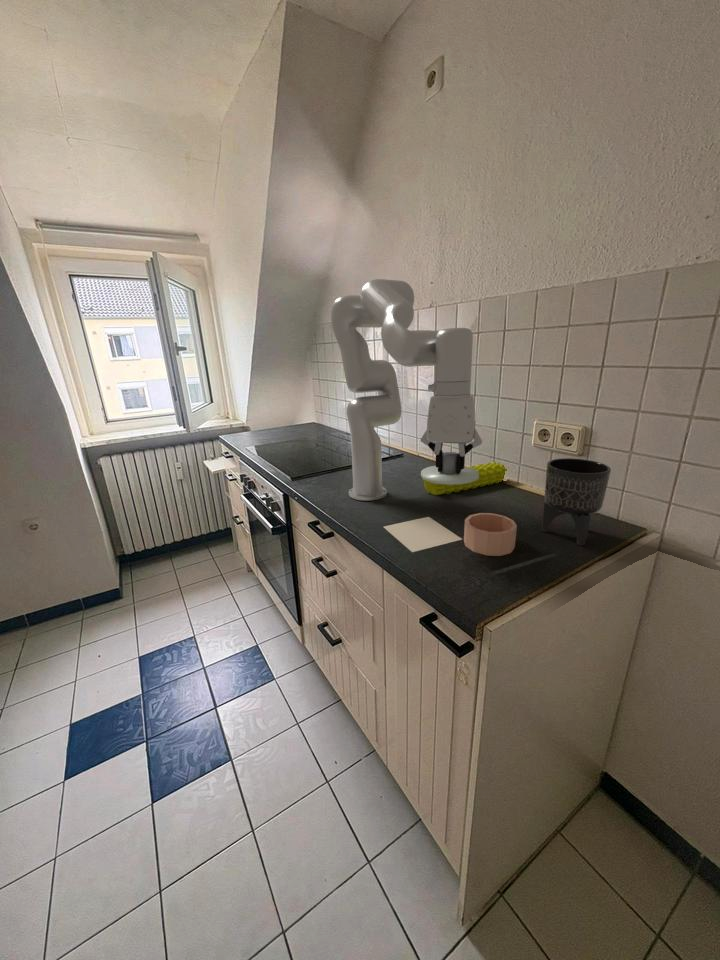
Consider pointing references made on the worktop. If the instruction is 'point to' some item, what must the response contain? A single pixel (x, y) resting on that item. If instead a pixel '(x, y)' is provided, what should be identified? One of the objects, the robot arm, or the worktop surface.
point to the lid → (449, 472)
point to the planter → (574, 492)
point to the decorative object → (486, 476)
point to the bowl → (490, 534)
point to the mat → (421, 534)
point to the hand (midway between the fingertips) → (449, 470)
